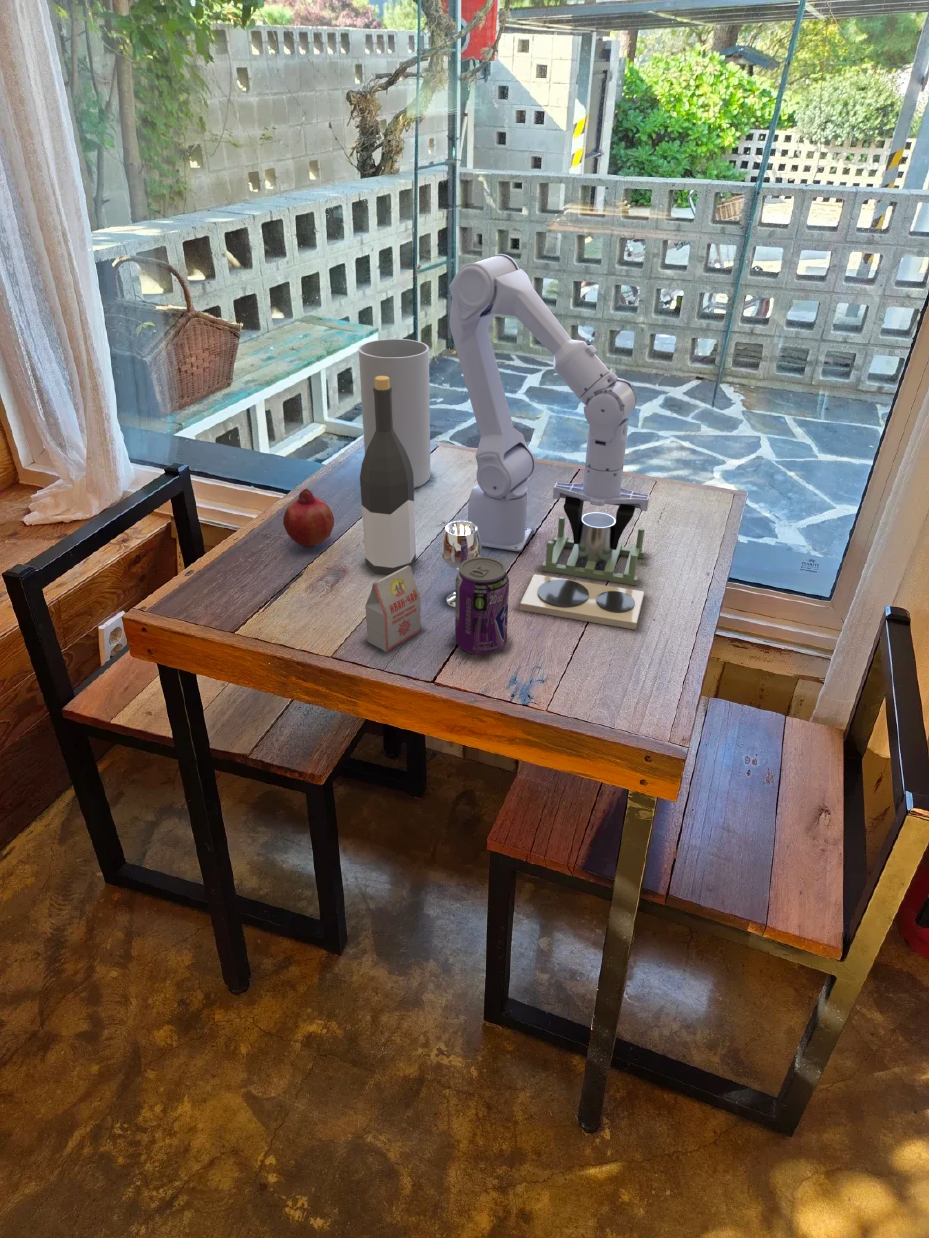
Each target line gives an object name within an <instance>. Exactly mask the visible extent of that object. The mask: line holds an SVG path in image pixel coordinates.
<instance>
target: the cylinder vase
mask: <svg viewBox="0 0 929 1238" xmlns="http://www.w3.org/2000/svg"><path fill="white" fill-rule="evenodd" d="M358 365H359V366H358V367H359V381H360V382H359V383H360V396H361V397H360V398H361V416H362V430H363V433H362V434H363V447H364V454H365V453H366V450H367V448H368V446H369V444H370V442H371V440H372V438H373V436H374V434H375V431H376V419H375V400H374V392H373V388H374V387H375V378H376V377H377V376H387V377H389V378H390V387H392V392H391V396H392V419H393V430H394V432H395V434H396V435H397V437H398V439H399V440H400V442H401V444H402V445H403V447H404V448H405V450H406V453H407V455H408V458H409V460H410V463H411V467H412V471H413V477H414V489H416V488H419V487H421V486H423V485H425V484H426V483H427V482H428V481H429V480H430V478H431V474H432V473H431V410H430V409H431V408H430V407H431V406H430V405H431V404H430V401H431V400H430V399H431V398H430V347H429V346H428V344H426V343H424V342H421V341H419V340H414V339H405V338H383V339H376V340H370V341H367V342H365V343H362V344H360V345H359V346H358Z"/></svg>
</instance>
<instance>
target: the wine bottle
mask: <svg viewBox="0 0 929 1238" xmlns="http://www.w3.org/2000/svg"><path fill="white" fill-rule="evenodd" d="M373 392H374V400H375V419H376V431H375V434H374V436H373V438H372V440H371V442H370V444H369V446H368V448H367V450H366V453H365V452H364V456H363V459H362V462H361V468H360V473H359V486H360V500H361V501H360V503H361V517H362V532H363V533H362V534H363V546H364V560H365V565H366V567H367V568H368V569H369V570H370V571H371V572H372V573H373V574H375V575H381V576H388V575H390V574H392V573H394V572H396V571H398V570H400V569H402V568H404V567H406V566H408V565H409V566H411V570H412V569H413V567H414V565H415V564H416V559H417V554H416V553H417V552H416V548H417V547H416V519H415V517H416V516H415V513H416V512H415V488H414V477H413V471H412V467H411V463H410V460H409V458H408V455H407V453H406V450H405V448H404V447H403V445H402V444H401V442H400V440H399V439H398V437H397V435H396V434H395V432H394V430H393V419H392V396H391V392H392V387H390V378H389V377H387V376H377V377H376V378H375V387H374V388H373Z"/></svg>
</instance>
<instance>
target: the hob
mask: <svg viewBox="0 0 929 1238" xmlns="http://www.w3.org/2000/svg"><path fill="white" fill-rule="evenodd" d="M644 596H645V591H642V590H636V589H630V588H625V587H624V588H623V587H617V586H611V585H605V584H598V583H592V582H586V581H580V580H573V579H567V578H561V577H554V576H548V575H542V574H536V573H534V574H532V577H531V579H530V582H529V583H528V585H527V587H526V590H525V592H524V594H523V596H522V598H521V600H520V602H519V611H523V612H529V613H536V614H541V615H548V616H553V617H559V618H565V619H571V620H577V621H580V622H581V621H583V622H587V623H588V622H589V623H593V624H599V625H605V626H610V627H611V626H612V627H617V628H624V629H629V630H633V631H635V630H637V627H638V623H639V619H640V615H641V610H642V606H643V602H644V599H645V597H644Z"/></svg>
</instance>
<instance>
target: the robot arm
mask: <svg viewBox="0 0 929 1238" xmlns="http://www.w3.org/2000/svg"><path fill="white" fill-rule="evenodd" d="M529 277H530V276H528V273H526V272H525V270H523V269H522V268H520V267H519V265H518V263H517V262H516V261H515V260H514V259H513V257H511V256H510V255H508V254H505V253H498V254H494V255H492V256H490V257H488V258H485V259H482V260H478V261H475V262H468V263H465V264H464V265H463V266H461V267H460V268H459V270H458V271H457V272H456V274H455V275H454V278H453V279H452V281H451V283H450V284H449V286H448V287H449V292H450V296H451V298H452V299H451V306H450V307H451V308H450V316H449V329H450V332H451V336H452V339H453V343H454V347H455V351H456V354H457V358H458V362H459V365H460V369H461V372H462V374H463V375H462V376H463V379H464V383H465V387H466V390H467V394H468V397H469V400H470V404H471V409H472V411H473V415H474V420H475V422H476V426H477V429H478V433H479V438H480V439H479V443H478V446H477V450H476V452H475V460H476V463H477V465H476V466H477V469H476V482H477V484H478V485H474V486H473V488H472V489H471V492H470V494H469V498H468V505H467V508H468V509H467V521H468V522H472V523H474V524H476V525H477V527H478V530H479V534H480V538H481V547H486V548H491V549H492V548H493V549H499V550H505V551H512V552H520V553H521V552H522V551H523V549H524V547H525V545H526V543H527V542H528V539H529V537H530V536H531V534H532V528H528V527H527V526H526V525H527V509H528V492H529V491H528V490H529V486H528V481H529V480H528V479H529V478H530V477H531V476H532V475H533V473H534V472H535V469H536V458H535V455H534V453H533V452H532V450H531V449H530V447H529V446H528V445H527V443H526V440H525V437H524V434H523V433H521V432H520V431H519V430H517V429H516V428H515V427H514V423H513V420H512V417H511V416H512V415H511V412H510V409H509V404H508V400H507V397H506V393H505V389H504V386H503V382H502V378H501V374H500V369H499V365H498V363H497V358H496V354H495V351H494V348H493V343H492V340H491V335H490V332H489V326H490V324H491V323H492V321H493V320H494V318H495V316H496V315H502V316H509V317H510V316H511V317H515V318H516V319H517V320H518V321H519V322H520V323H521V324H522V325H523V326H524V327H525V328H526V329H527V330H528V332H530V333H531V334H532V336H533V337H534V338H536V340H537V341H538V342H539V343H540V344H541V345H542V346H543V347H544V348H545V349H546V350H547V351H548V352H549V353H550V354H551V356H553V370H554V372H555V373H556V374H557V375H558V376H559V377H560V378H561V380H562V381H563V382H564V383H565V384H566V386H567V387H568V388H569V389H570V390H571V391H572V393H573V394H574V395H575V397H577V398H578V400H579V401H580V402H581V403H582V404H583V405H584V406H583V415H584V417H585V420H586V422H587V423H588V433H587V441H586V452H585V462H584V472H583V482H556V483H555V484H554V486H553V493H552V499H554V500H560V499H564V503H563V511H564V513H565V515H566V518H567V520H568V523H569V525H570V527H571V533H572V537H573V540H574V544H578V543H579V532H580V522H581V517H582V516H583V509H584V503H585V502H589V503H590V505H592V506H598V507H603V506H605V505H611V506H618V508H617V511H616V514H615V519H616V525H615V534H614V539H613V543H612V550H616V549H617V546H618V542H619V543H620V539H621V537H622V535H623V532H624V531H625V529H626V527H627V526H628V524H630V521H631V520H632V519H633V517H634V514H635V510H636V509H639V511H641V512H647V511H648V507H649V502H650V497H651V495H650V494H647V493H643V492H638V491H634V490H631V489H627V488H624V487H622V483H623V475H624V474H623V473H624V465H625V458H626V449H627V441H628V428H629V421H630V418H628V417H629V416H630V415H631V414H632V413H633V411H634V410H635V408H636V406H637V395H636V391H635V389H634V388H633V386H632V384H631V382H629V380H626V379H624V378H621V377H620V378H619V377H618V375H617V373H616V372H611V371H610V370H609V369H608V366H606V365H605V364H604V363H603V361H602V360H601V359H600V358H599V357H598V356H597V354H596V353H597V352H598V349H597V348H596V347H595V346H594V345H593V344H590V345H588V343H586V341H584V340H578V339H572V338H571V336H570V335H569V334H568V332H567V331H566V330H565V328H564V327H563V325H562V324H561V323H560V322H559V321H558V319H557V318H556V316H555V315H554V314H553V313H552V311H551V310H550V308H549V307H548V306H547V305H546V303H545V302H544V301H543V299H542V298H541V296H540V295H539V294H538V292H537V291H536V290H535V288H534V287H533V285H532V282H531V280H530V278H529Z"/></svg>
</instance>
